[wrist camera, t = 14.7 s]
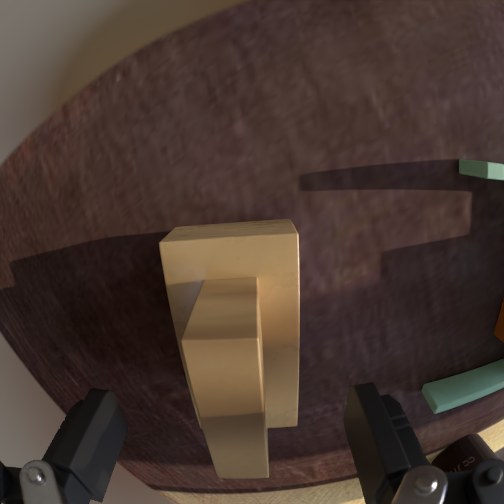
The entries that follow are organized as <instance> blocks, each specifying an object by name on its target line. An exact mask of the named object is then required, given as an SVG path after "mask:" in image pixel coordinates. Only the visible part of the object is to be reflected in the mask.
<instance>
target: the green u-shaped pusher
mask: <svg viewBox="0 0 504 504" xmlns="http://www.w3.org/2000/svg"><path fill="white" fill-rule="evenodd" d="M459 173H460V174H464V175H470V176H476V177H481V178H486V179H496V180H504V164H498V163H492V162H484V161H475V160H465V159H459ZM501 388H504V358H503V359H501V360H498V361H496V362H493V363H490V364H487V365H485V366H482V367H479V368H476V369H473V370H470V371H467V372H464V373H461V374H458V375H455V376H451V377H448V378H444V379H441V380H437V381H434V382H430V383H426V384H424V385H423V388H422V391H421V392H422V394H423V396H424V397H425V399H426V401H427V402H428V404H429V406H430V408H431V409H432V411H433V413H434V414H436V413H439V412H442V411H445V410H448V409H451V408H454V407H457V406H460V405H462V404H465V403H468V402H470V401H473V400H475V399H478V398H480V397H483V396H485V395H488V394H490V393H492V392H495V391H497V390H499V389H501Z"/></svg>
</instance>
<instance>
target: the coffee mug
mask: <svg viewBox="0 0 504 504" xmlns="http://www.w3.org/2000/svg"><path fill="white" fill-rule="evenodd" d="M489 458H497V459H499V458H498V457H497V456H496V455H495V453H494V452H493V451H492V450H491V449H490V447H489V446H488V445H487V444H486V443H485V441H484V440H483V439H482V438H481V437H480V436H479V435H478V434H472V435H469V436H466V437H464V438H462V439H460V440H458V441H457V442H455V443H454V444H452V445H451V446H449V447H448V448H446V449H445V450H444V451H443V452H442V453H440V454H439V455H438V456H437V457H436V458H435V459H434V461H433V462H432V464H431V465H432V466H436V467H438V468H439V469H441V470H442V471H443V472H460V471H468V470H474V469H475V468H476V466H477V465H478V464H479V463H480V462H482V461H483V460H486V459H489Z"/></svg>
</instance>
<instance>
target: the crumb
mask: <svg viewBox="0 0 504 504" xmlns="http://www.w3.org/2000/svg"><path fill="white" fill-rule="evenodd" d="M493 334H494V335H495V336H496V337H497V338H499V339H500V340H501V341H502V342H503V343H504V298H503V302H502V306H501V310H500V313H499V317H498V320H497V324H496V327H495V330H494V333H493Z"/></svg>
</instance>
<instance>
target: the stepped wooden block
mask: <svg viewBox="0 0 504 504" xmlns="http://www.w3.org/2000/svg"><path fill="white" fill-rule="evenodd" d="M159 249H160V255H161V261H162V267H163V273H164V278H165V284H166V289H167V295H168V300H169V305H170V310H171V315H172V319H173V324H174V329H175V333H176V338H177V342H178V347H179V351H180V355H181V359H182V363H183V367H184V371H185V375H186V379H187V383H188V387H189V391H190V394H191V398H192V402H193V405H194V409H195V412H196V416H197V419H198V422H199V426H200V428H201V429H203V432H204V435H205V439H206V442H207V445H208V448H209V452H210V455H211V458H212V461H213V464H214V467H215V470H216V473H217V476H218V478H268V477H269V462H268V432H267V428H279V427H292V426H297V419H298V392H299V343H300V287H299V237H298V233H297V231H296V229H295V227H294V225H293V223H292V222H291V220H290V219H282V220H266V221H250V222H235V223H221V224H208V225H195V226H183V227H175V228H174V229H173V230H172V231H171V232H170V233H169V234H168V235H167V236H166V237H164V238H163V239H162V240H161V241H160V242H159Z"/></svg>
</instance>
